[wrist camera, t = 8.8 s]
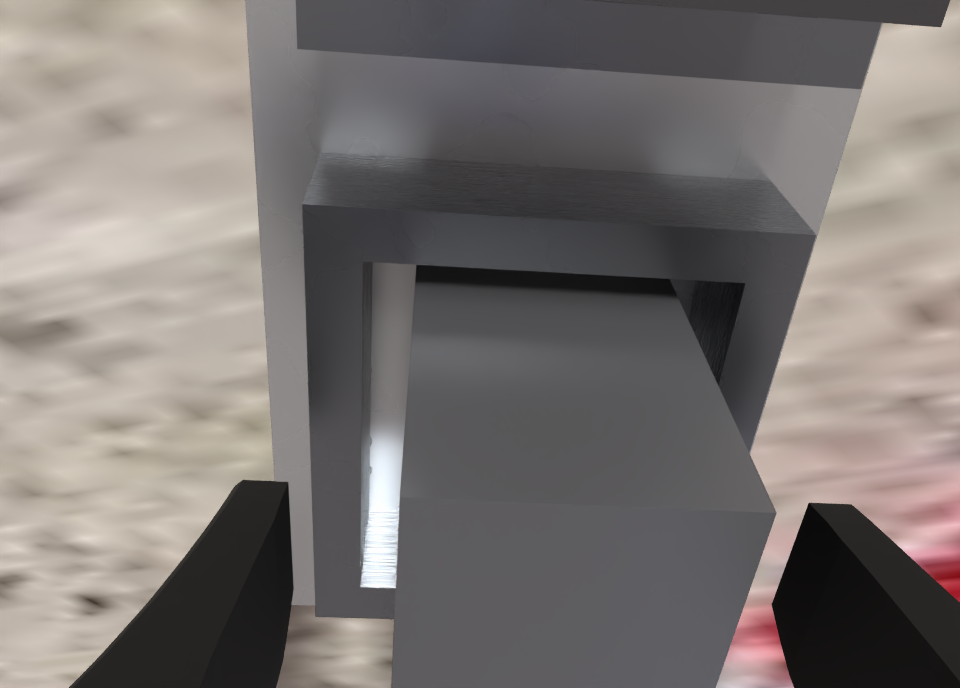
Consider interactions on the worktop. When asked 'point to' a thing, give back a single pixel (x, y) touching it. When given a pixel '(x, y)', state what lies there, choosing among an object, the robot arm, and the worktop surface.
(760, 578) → the worktop surface
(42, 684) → the worktop surface
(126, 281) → the worktop surface
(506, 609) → the plug block
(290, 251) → the power strip
